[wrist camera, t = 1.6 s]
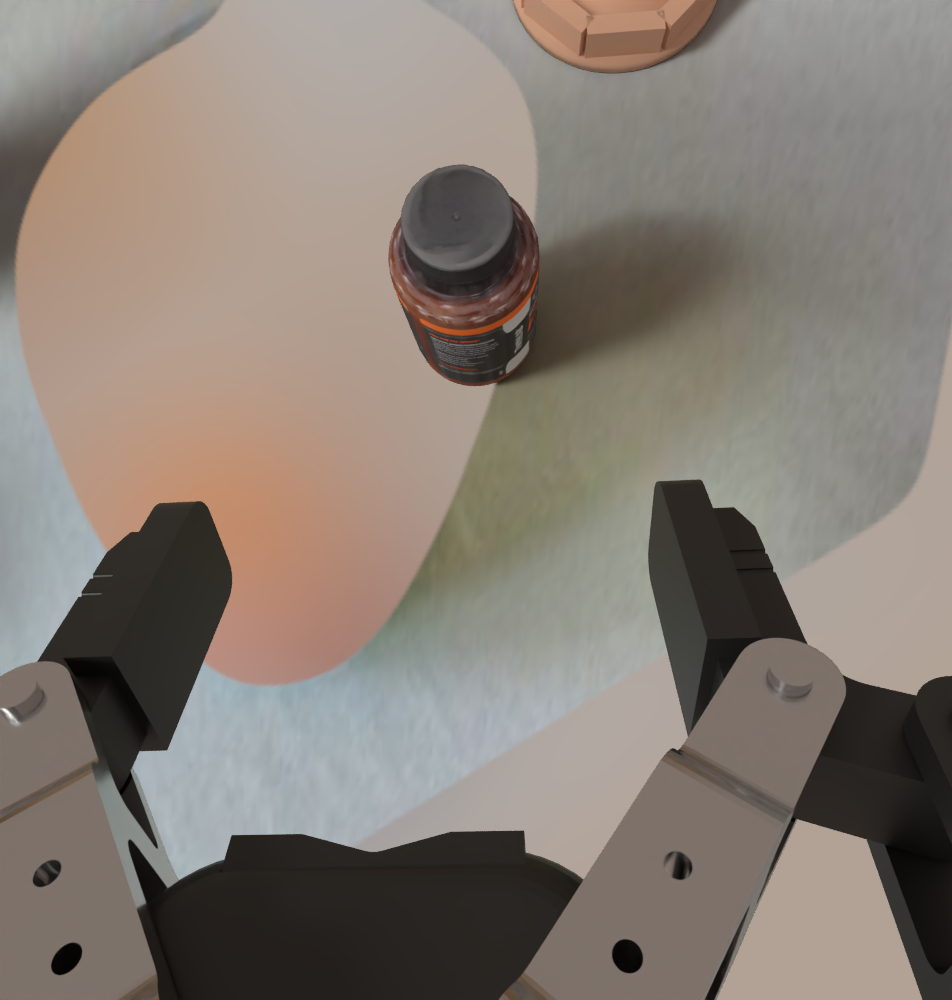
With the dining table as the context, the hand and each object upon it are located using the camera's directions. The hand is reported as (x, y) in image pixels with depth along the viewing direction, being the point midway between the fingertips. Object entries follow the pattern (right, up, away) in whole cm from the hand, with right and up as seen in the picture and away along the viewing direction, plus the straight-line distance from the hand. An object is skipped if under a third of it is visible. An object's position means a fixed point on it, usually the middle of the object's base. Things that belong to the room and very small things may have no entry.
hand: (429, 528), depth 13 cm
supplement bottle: (+1, +9, +23) cm, 25 cm away
